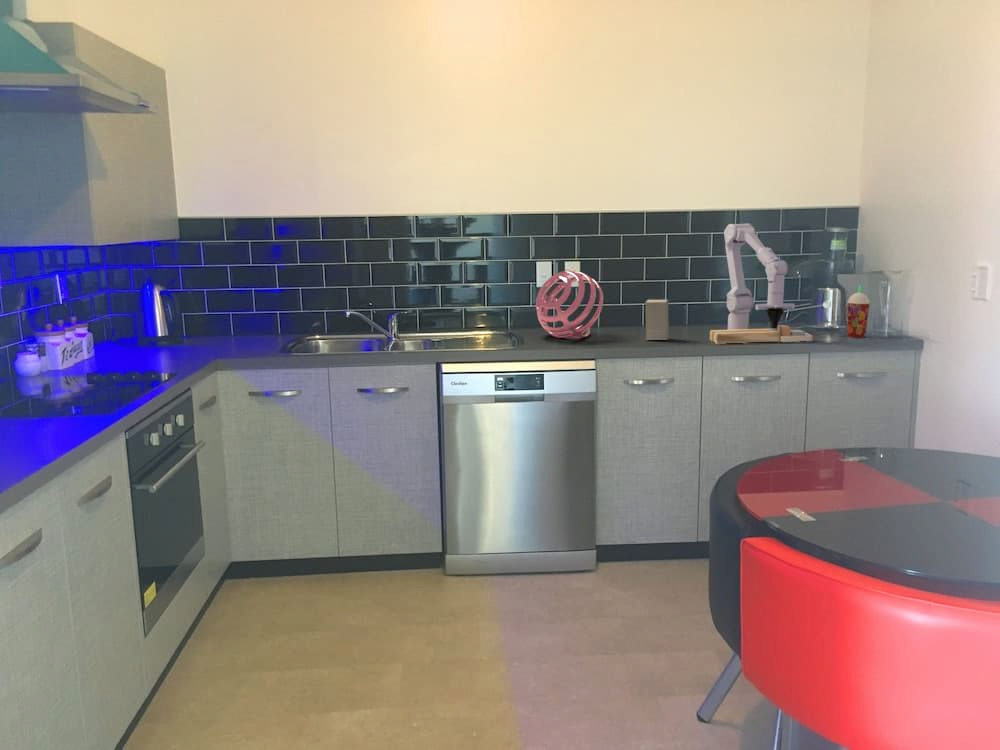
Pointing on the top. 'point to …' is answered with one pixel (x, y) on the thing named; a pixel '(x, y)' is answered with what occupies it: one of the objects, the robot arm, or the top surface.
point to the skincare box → (657, 320)
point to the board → (743, 335)
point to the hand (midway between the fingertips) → (773, 327)
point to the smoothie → (857, 314)
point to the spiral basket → (563, 315)
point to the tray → (796, 338)
